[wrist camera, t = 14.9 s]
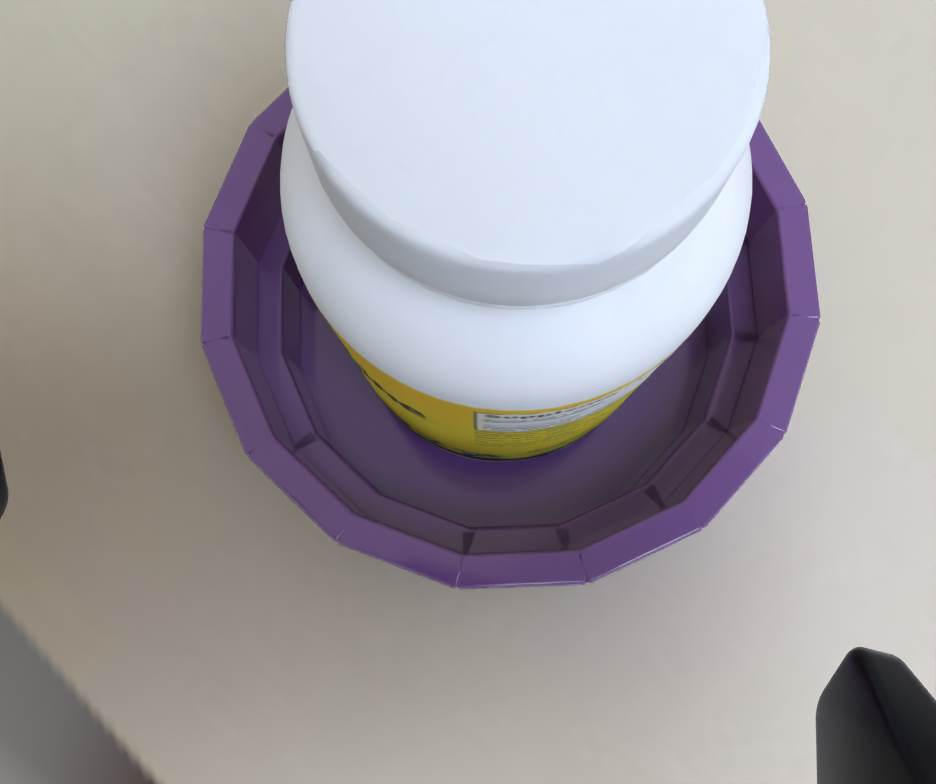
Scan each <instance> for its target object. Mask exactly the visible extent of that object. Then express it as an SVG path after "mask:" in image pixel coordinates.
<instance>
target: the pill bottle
mask: <svg viewBox="0 0 936 784" xmlns="http://www.w3.org/2000/svg"><path fill="white" fill-rule="evenodd" d="M285 60H286V72H287V79H288V86H289V93H290V97H291V102H292V106H293V108H292V110H291V113H290V116H289V119H288V123H287V127H286V131H285V136H284V142H283V148H282V158H281V169H280V197H281V208H282V215H283V221H284V226H285V232H286V235H287V239H288V242H289V246H290V250H291V252H292V255H293V257H294V260H295V262H296V265H297V268H298V270H299V272H300V275H301V277H302V279H303V281H304V283H305V285H306V288H307V290H308V292H309V294H310V295H311V297H312V299H313V300H314V302H315V304H316V306H317V307H318V309H319V310H320V312H321V313H322V315H323V316H324V317H325V319H326V320H327V322H328V323H329V324H330V326H331V327H332V329H333V330H334V331H335V333H336V334H337V336H338V337H339V338H340V340H341V342H342V343H343V344H344V346H345V347H346V349H347V350H348V352H349V354H350V355H351V357H352V358H353V360H354V361H355V363H356V365H357V366H358V368H359V369H360V370H361V372H362V373H363V375H364V376H365V378H366V379H367V380H368V381H369V383H370V385H371V386H372V388H373V389H374V391H375V392H376V394H377V395H378V396H379V398H380V399H381V400H382V402H383V403H384V404H385V405H386V407H387V408H388V409H389V410H390V411H391V412H392V413H393V415H394V416H395V417H396V418H397V419H398V420H399V421H400V422H401V423H402V424H403V425H405V426H406V427H407V428H408V429H409V430H411V431H412V432H413V433H415V434H416V435H417V436H419V437H420V438H422V439H423V440H425V441H427V442H429V443H430V444H432V445H434V446H436V447H438V448H440V449H442V450H444V451H447V452H449V453H452V454H455V455H458V456H461V457H464V458H469V459H473V460H480V461H488V462H512V461H522V460H528V459H534V458H538V457H541V456H545V455H548V454H551V453H553V452H556V451H558V450H560V449H563V448H565V447H567V446H569V445H571V444H573V443H575V442H576V441H578V440H580V439H581V438H583V437H584V436H585V435H587V434H588V433H590V432H591V431H593V430H594V429H595V428H597V427H598V426H599V425H600V424H601V423H603V422H604V421H605V420H606V419H607V418H608V417H609V416H610V415H611V414H612V413H613V412H614V411H615V410H616V409H617V408H618V407H619V406H620V405H621V404H622V403H623V402H624V401H625V399H626V398H627V397H628V396H629V395H630V394H631V393H632V392H633V391H634V390H636V389H637V387H638V386H639V385H641V384H642V383H643V382H644V381H645V380H646V379H647V378H648V377H649V376H650V374H651V373H652V372H653V371H654V370H655V369H656V368H657V367H658V366H659V365H660V364H662V363H663V362H664V361H665V360H666V359H667V358H668V357H669V356H670V355H671V354H672V353H673V352H674V351H675V350H676V349H677V348H678V347H679V346H680V345H681V344H682V343H683V342H684V341H685V340H686V339H687V338H688V337H689V336H690V335H691V334H692V332H693V331H694V330H695V329H696V328H697V326H698V325H699V324H700V323H701V321H702V320H703V319H704V317H705V316H706V315H707V313H708V312H709V311H710V309H711V307H712V306H713V304H714V303H715V301H716V300H717V298H718V297H719V295H720V294H721V292H722V290H723V288H724V287H725V285H726V283H727V281H728V279H729V277H730V275H731V273H732V270H733V268H734V266H735V263H736V261H737V258H738V256H739V253H740V251H741V247H742V244H743V241H744V237H745V234H746V230H747V225H748V219H749V214H750V207H751V199H752V161H751V152H750V145H749V143H750V141H751V138H752V136H753V133H754V131H755V129H756V126H757V124H758V121H759V119H760V115H761V111H762V107H763V104H764V100H765V96H766V92H767V87H768V79H769V71H770V31H769V23H768V15H767V10H766V6H765V2H764V0H291V3H290V7H289V10H288V17H287V25H286V36H285Z"/></svg>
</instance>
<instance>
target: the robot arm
mask: <svg viewBox="0 0 936 784" xmlns="http://www.w3.org/2000/svg"><path fill="white" fill-rule="evenodd" d="M7 502H8V487H7V482H6V477H5V472H4V467H3V462H2V457H1V452H0V519H1V517H2V515H3V513H4V511H5V509H6V506H7ZM816 750H817V784H936V700H935V699H934V698H933V697H932V695H931V694H930V693H929V692H928V691H927V689H926V688H925V687H924V686H923V685H922V683H921V682H920V681H919V680H918V679H917V677H916V676H915V675H914V674H913V673H912V671H911V670H910V669H909V668H908V667H907V665H906V664H905V663H904V662H903V661H902V660H901V659H899V658H898V657H896V656H894V655H892V654H888V653H884V652H880V651H876V650H872V649H868V648H864V647H856V648H854V649H852V650H851V651H849V653H848V654H847V655H846V656H845V658H844V660H843V661H842V663H841V664H840V666H839V667H838V669H837V670H836V672H835V674H834V675H833V677H832V678H831V680H830V681H829V683H828V684H827V686H826V688H825V689H824V691H823V692H822V694H821V696H820V699H819V701H818V705H817V711H816Z"/></svg>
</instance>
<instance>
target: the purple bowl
mask: <svg viewBox="0 0 936 784" xmlns="http://www.w3.org/2000/svg"><path fill="white" fill-rule="evenodd" d="M292 108H293V106H292V102H291V97H290V93H289V87H288V88H287V89H286V90H285V91H284V92H283V93H282V94H281V95H280V96H279V97H278V98H277V99H276V100H275V101H273V102H272V103H271V104H270V105H269V106H268V107H267V108H266V109H265V110H264V111H263V112H262V113H261V114H260V115H259V116H258V117H257V118H256V119H255V120H254V121H253V122H252V124H250V125H249V127H248V129H247V132H246V134H245V136H244V138H243V140H242V143H241V145H240V147H239V149H238V152H237V154H236V156H235V158H234V160H233V163H232V165H231V167H230V169H229V171H228V174H227V176H226V178H225V180H224V183H223V185H222V187H221V189H220V191H219V194H218V196H217V198H216V200H215V203H214V205H213V207H212V209H211V211H210V214H209V216H208V218H207V220H206V222H205V225H204V228H205V229H204V231H203V269H202V314H201V343H202V344H203V345H202V349H203V351H204V354H205V356H206V359H207V361H208V364H209V366H210V369H211V371H212V373H213V376H214V378H215V381H216V383H217V386H218V388H219V390H220V393H221V395H222V398H223V400H224V403H225V405H226V408H227V410H228V412H229V415H230V417H231V420H232V422H233V425H234V427H235V430H236V432H237V434H238V437H239V439H240V442H241V444H242V447H243V449H244V451H245V453H246V454H247V455H249V456H248V457H249V459H250V460H251V461H252V462H253V463H254V464H255V465H256V466H257V467H258V468H259V469H260V470H261V471H262V472H263V473H264V474H265V475H266V476H267V477H268V478H269V479H270V480H271V481H272V482H274V483H275V484H276V485H277V486H278V487H279V488H280V489H281V490H282V491H283V492H284V493H285V494H286V495H287V496H288V497H289V498H290V499H291V500H292V501H293V502H294V503H295V504H296V505H297V506H298V507H299V508H300V509H301V510H302V511H303V512H304V513H305V514H306V515H308V516H309V517H310V518H311V519H312V520H313V521H314V522H315V523H316V524H317V525H318V526H319V527H320V528H321V529H322V530H323V531H324V532H325V533H326V534H327V535H328V536H329V537H330V538H331V539H332V540H333V541H336V542H338V543H339V544H340V545H341V546H344V547H347V548H349V549H352V550H354V551H357V552H360V553H362V554H365V555H368V556H370V557H373V558H375V559H378V560H381V561H383V562H386V563H389V564H391V565H394V566H396V567H399V568H402V569H404V570H407V571H409V572H412V573H415V574H417V575H420V576H423V577H425V578H428V579H430V580H433V581H436V582H438V583H441V584H443V585H446V586H449V587H451V588H457V587H458V588H459V589H461V590H462V589H488V588H515V587H542V586H568V585H584V584H586V583H592V582H594V581H596V580H599V579H601V578H603V577H605V576H607V575H609V574H611V573H613V572H615V571H618V570H620V569H622V568H624V567H626V566H628V565H630V564H632V563H634V562H637V561H639V560H641V559H643V558H645V557H647V556H649V555H651V554H653V553H656V552H658V551H660V550H662V549H664V548H666V547H668V546H670V545H672V544H675V543H677V542H679V541H681V540H683V539H685V538H687V537H689V536H691V535H693V534H696V533H698V532H700V531H701V530H702V528H704V527H706V526H707V525H708V524H709V523H710V522H711V521H712V520H713V518H714V517H715V516H716V515H717V514H718V513H719V511H720V510H721V509H722V508H723V507H724V506H725V505H726V503H727V502H728V501H729V500H730V499H731V498H732V497H733V495H734V494H735V493H736V492H737V491H738V490H739V488H740V487H741V486H742V485H743V484H744V483H745V482H746V480H747V479H748V478H749V477H750V476H751V475H752V473H753V472H754V471H755V470H756V469H757V468H758V467H759V465H760V464H761V463H762V462H763V461H764V460H765V459H766V457H767V456H768V455H769V454H770V453H771V452H772V450H773V449H774V448H775V447H776V446H777V445H778V444H779V442H780V441H781V440H782V439H783V436H784V435H783V434H785V433H786V432H787V429H788V426H789V422H790V419H791V416H792V413H793V409H794V406H795V403H796V400H797V396H798V393H799V390H800V386H801V383H802V380H803V377H804V373H805V370H806V367H807V364H808V360H809V357H810V354H811V351H812V347H813V344H814V341H815V337H816V334H817V331H818V328H819V324H820V322H819V319H820V310H819V302H818V293H817V285H816V276H815V268H814V260H813V251H812V243H811V234H810V226H809V217H808V209H807V205H805V199H804V197H803V196H802V194H801V192H800V190H799V189H798V187H797V185H796V183H795V182H794V180H793V178H792V176H791V175H790V173H789V171H788V169H787V168H786V166H785V164H784V162H783V161H782V159H781V157H780V155H779V154H778V152H777V150H776V148H775V147H774V145H773V143H772V141H771V140H770V138H769V136H768V134H767V133H766V131H765V129H764V127H763V126H762V124H761V122H760V120H759V121H758V124H757V126H756V129H755V131H754V133H753V136H752V138H751V141H750V143H749V145H750V152H751V161H752V199H751V207H750V214H749V219H748V225H747V230H746V234H745V237H744V241H743V244H742V247H741V251H740V253H739V256H738V258H737V261H736V263H735V266H734V268H733V270H732V273H731V275H730V277H729V279H728V281H727V283H726V285H725V287H724V288H723V290H722V292H721V294H720V295H719V297H718V298H717V300H716V301H715V303H714V304H713V306H712V307H711V309H710V311H709V312H708V313H707V315H706V316H705V317H704V319H703V320H702V321H701V323H700V324H699V325H698V326H697V328H696V329H695V330H694V331H693V332H692V334H691V335H690V336H689V337H688V338H687V339H686V340H685V341H684V342H683V343H682V344H681V345H680V346H679V347H678V348H677V349H676V350H675V351H674V352H673V353H672V354H671V355H670V356H669V357H668V358H667V359H666V360H665V361H664V362H663V363H662V364H660V365H659V366H658V367H657V368H656V369H655V370H654V371H653V372H652V373H651V374H650V376H649V377H648V378H647V379H646V380H645V381H644V382H643V383H642V384H641V385H639V386H638V387H637V389H636V390H634V391H633V392H632V393H631V394H630V395H629V396H628V397H627V398H626V399H625V401H624V402H623V403H622V404H621V405H620V406H619V407H618V408H617V409H616V410H615V411H614V412H613V413H612V414H611V415H610V416H609V417H608V418H607V419H606V420H605V421H604V422H603V423H601V424H600V425H599V426H598V427H597V428H595V429H594V430H593V431H591V432H590V433H588V434H587V435H585V436H584V437H583V438H581V439H580V440H578V441H576V442H575V443H573V444H571V445H569V446H567V447H565V448H563V449H560V450H558V451H556V452H553V453H551V454H548V455H545V456H541V457H538V458H534V459H528V460H522V461H512V462H488V461H480V460H473V459H469V458H464V457H461V456H458V455H455V454H452V453H449V452H447V451H444V450H442V449H440V448H438V447H436V446H434V445H432V444H430V443H429V442H427V441H425V440H423V439H422V438H420V437H419V436H417V435H416V434H415V433H413V432H412V431H411V430H409V429H408V428H407V427H406V426H405V425H403V424H402V423H401V422H400V421H399V420H398V419H397V418H396V417H395V416H394V415H393V413H392V412H391V411H390V410H389V409H388V408H387V407H386V405H385V404H384V403H383V402H382V400H381V399H380V398H379V396H378V395H377V394H376V392H375V391H374V389H373V388H372V386H371V385H370V383H369V381H368V380H367V379H366V378H365V376H364V375H363V373H362V372H361V370H360V369H359V368H358V366H357V365H356V363H355V361H354V360H353V358H352V357H351V355H350V354H349V352H348V350H347V349H346V347H345V346H344V344H343V343H342V342H341V340H340V338H339V337H338V336H337V334H336V333H335V331H334V330H333V329H332V327H331V326H330V324H329V323H328V322H327V320H326V319H325V317H324V316H323V315H322V313H321V312H320V310H319V309H318V307H317V306H316V304H315V302H314V300H313V299H312V297H311V295H310V294H309V292H308V290H307V288H306V285H305V283H304V281H303V279H302V277H301V275H300V272H299V270H298V268H297V265H296V262H295V260H294V257H293V255H292V252H291V250H290V246H289V242H288V239H287V235H286V232H285V226H284V221H283V215H282V208H281V197H280V169H281V158H282V148H283V142H284V136H285V131H286V127H287V123H288V119H289V116H290V113H291V110H292Z"/></svg>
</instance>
